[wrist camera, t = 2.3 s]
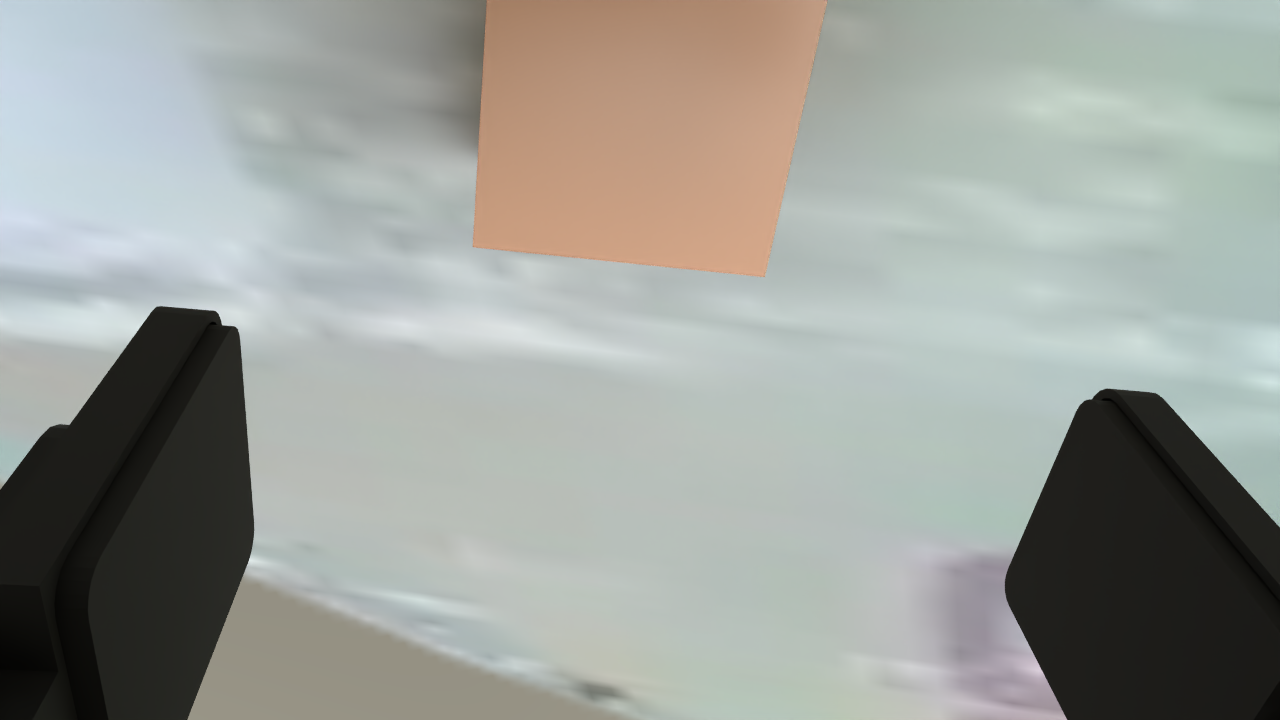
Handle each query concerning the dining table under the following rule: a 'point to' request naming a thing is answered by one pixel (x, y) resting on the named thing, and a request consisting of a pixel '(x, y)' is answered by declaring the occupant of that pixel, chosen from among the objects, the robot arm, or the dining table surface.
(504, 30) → the peach cube
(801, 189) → the dining table surface
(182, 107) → the dining table surface
